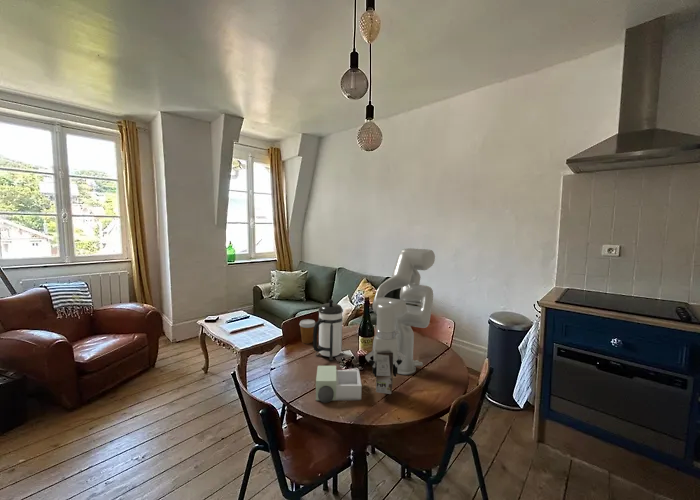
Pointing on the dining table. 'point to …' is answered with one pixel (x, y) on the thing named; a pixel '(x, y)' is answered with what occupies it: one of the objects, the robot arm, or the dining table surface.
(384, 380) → the coffee box
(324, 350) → the coffee press
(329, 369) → the pale green boxy shape
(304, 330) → the disposable coffee cup
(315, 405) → the dining table surface
